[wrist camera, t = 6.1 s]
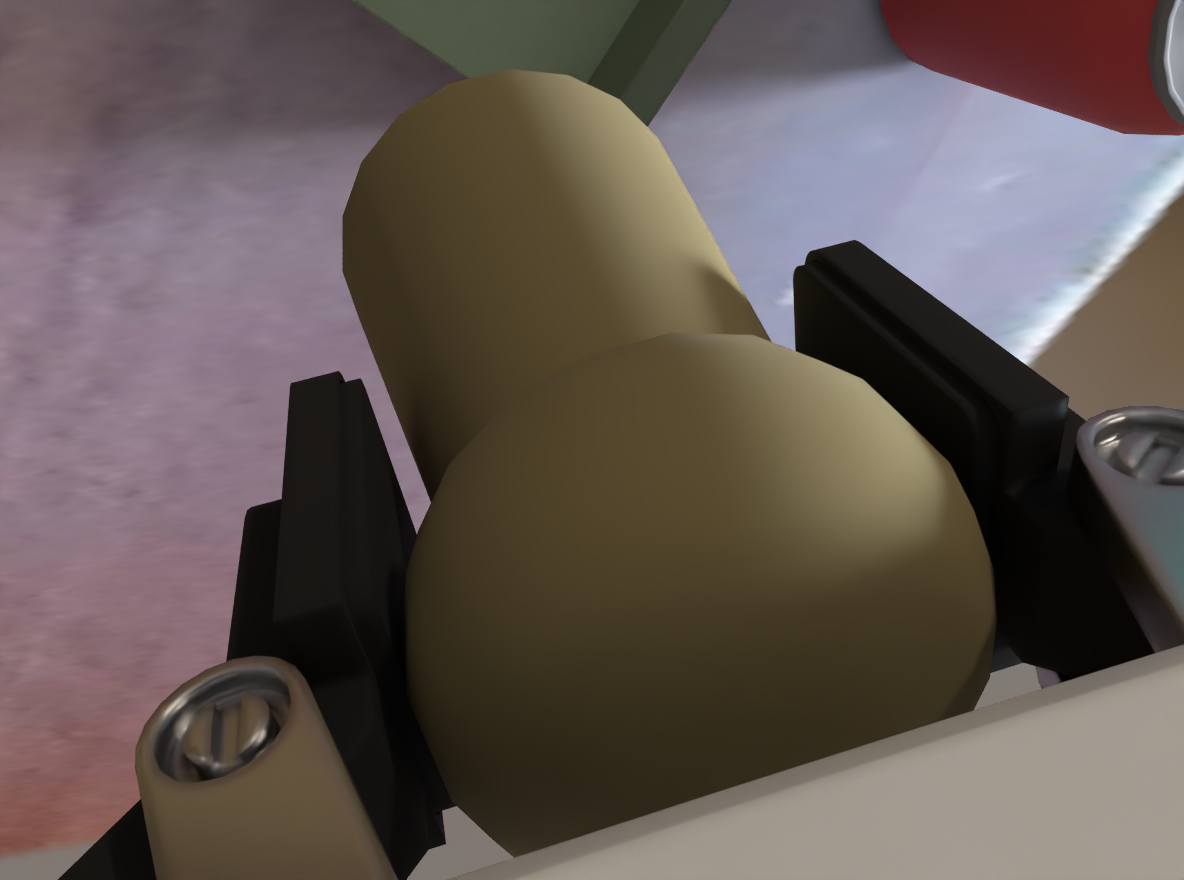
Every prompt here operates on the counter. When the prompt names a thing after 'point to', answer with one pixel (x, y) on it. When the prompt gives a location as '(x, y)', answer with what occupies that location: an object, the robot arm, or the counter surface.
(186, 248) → the counter surface
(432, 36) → the shelf
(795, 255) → the counter surface
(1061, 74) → the beer can
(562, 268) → the cork
